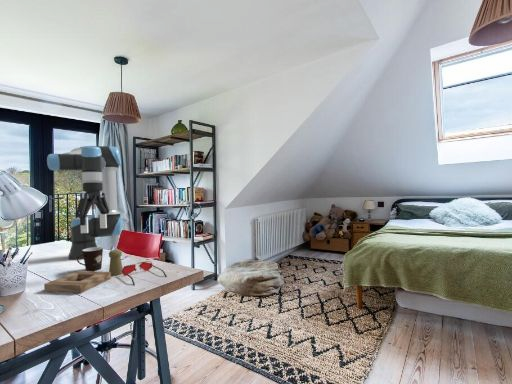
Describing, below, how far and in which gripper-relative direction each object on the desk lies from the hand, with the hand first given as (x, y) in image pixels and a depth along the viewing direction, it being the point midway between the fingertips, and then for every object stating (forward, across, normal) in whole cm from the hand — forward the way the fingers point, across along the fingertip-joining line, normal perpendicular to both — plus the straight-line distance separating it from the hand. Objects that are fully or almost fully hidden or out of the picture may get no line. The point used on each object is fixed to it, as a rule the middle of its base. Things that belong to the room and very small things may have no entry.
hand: (94, 230), depth 119 cm
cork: (+21, -4, +7) cm, 22 cm away
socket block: (+21, +9, -2) cm, 23 cm away
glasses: (+21, 0, +21) cm, 30 cm away
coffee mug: (+21, -11, -10) cm, 25 cm away
